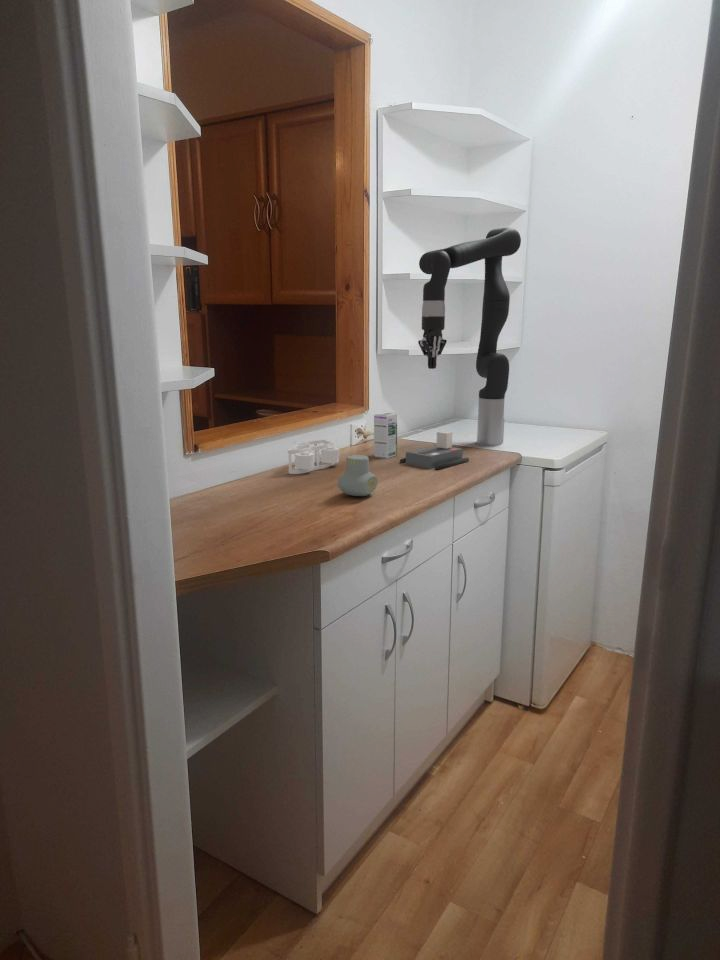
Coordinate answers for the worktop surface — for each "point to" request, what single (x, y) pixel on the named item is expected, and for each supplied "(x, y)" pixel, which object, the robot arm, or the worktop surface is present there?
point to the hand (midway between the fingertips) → (431, 368)
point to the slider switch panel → (444, 463)
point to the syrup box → (385, 435)
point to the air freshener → (357, 477)
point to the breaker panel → (433, 456)
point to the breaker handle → (444, 439)
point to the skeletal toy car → (312, 456)
